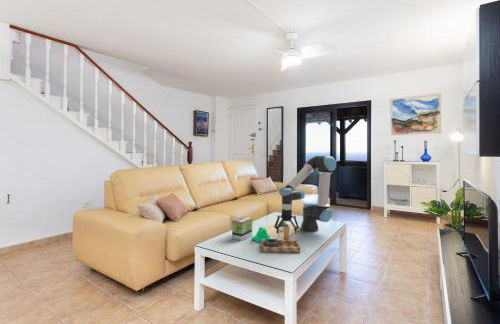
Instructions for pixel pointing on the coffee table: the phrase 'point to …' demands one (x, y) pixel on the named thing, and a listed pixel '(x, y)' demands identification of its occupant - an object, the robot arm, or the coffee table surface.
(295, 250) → the inlet box
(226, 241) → the coffee table surface
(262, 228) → the green lumpy mound
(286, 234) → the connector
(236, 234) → the tea box
